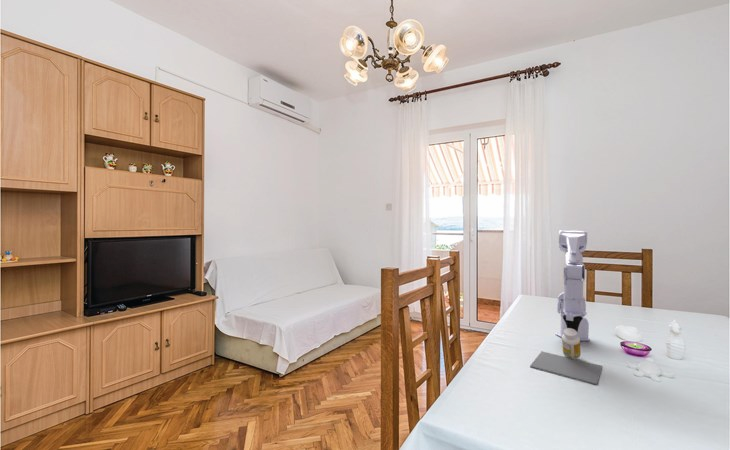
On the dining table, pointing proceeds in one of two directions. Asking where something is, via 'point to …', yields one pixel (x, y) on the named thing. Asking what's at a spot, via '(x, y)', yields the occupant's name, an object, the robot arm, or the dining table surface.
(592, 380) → the slate mat
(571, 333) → the supplement bottle
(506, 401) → the dining table surface
